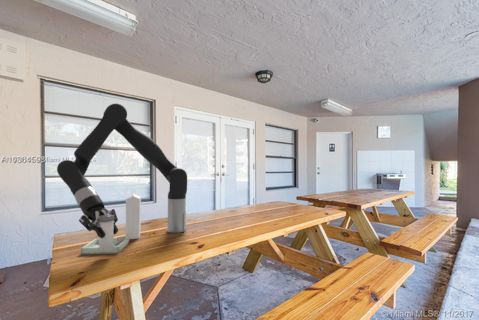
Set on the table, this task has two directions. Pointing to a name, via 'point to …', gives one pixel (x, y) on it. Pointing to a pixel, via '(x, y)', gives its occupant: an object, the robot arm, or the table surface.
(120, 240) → the ball
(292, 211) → the table surface
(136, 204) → the milk
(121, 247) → the tray
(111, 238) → the shaker
